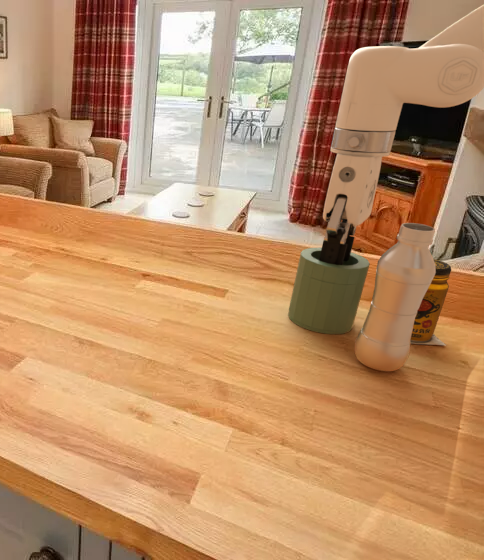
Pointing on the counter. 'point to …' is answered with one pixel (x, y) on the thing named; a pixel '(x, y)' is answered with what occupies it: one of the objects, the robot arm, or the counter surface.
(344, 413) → the counter surface
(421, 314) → the condiment
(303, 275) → the green hollow cylinder cup
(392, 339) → the plastic bottle
